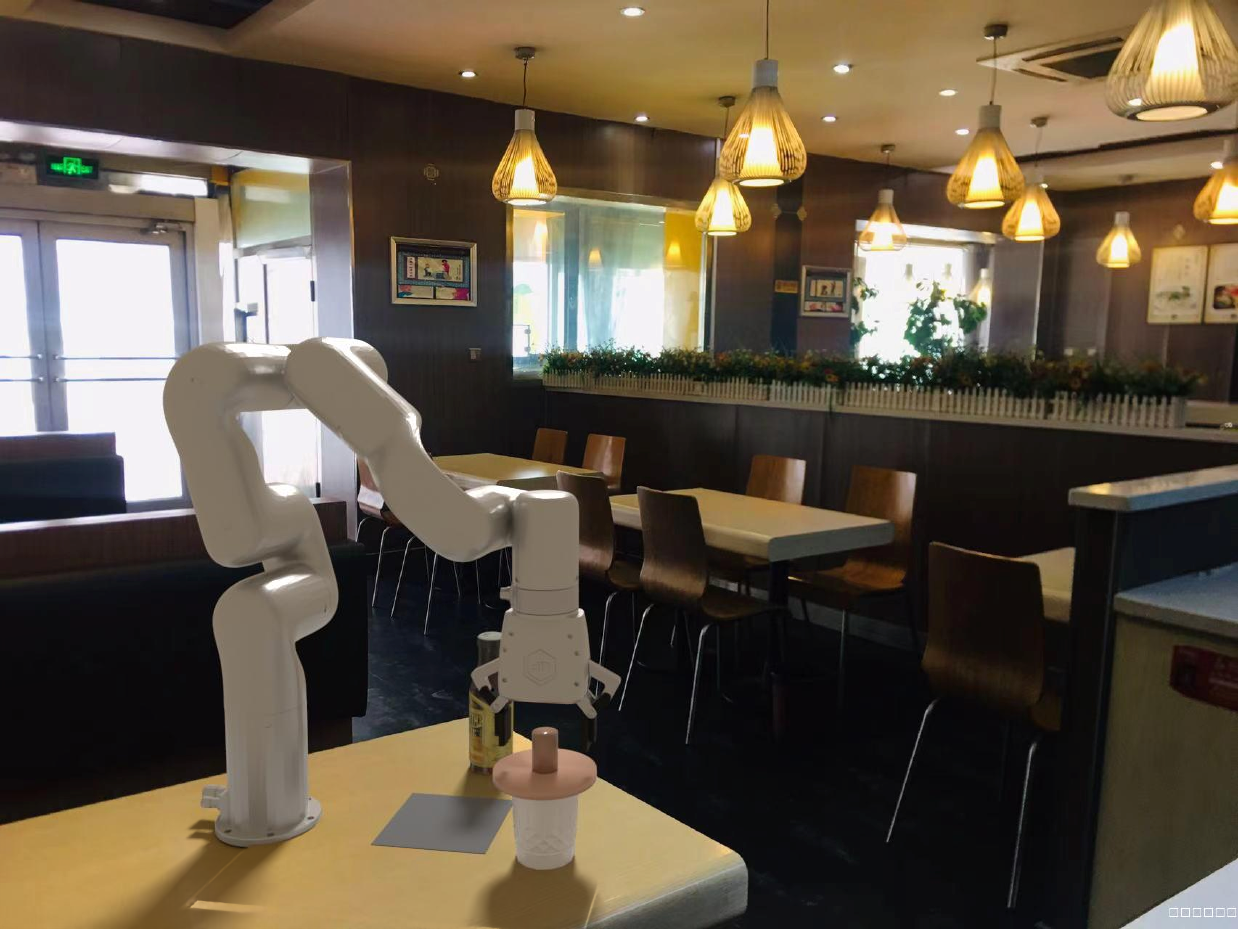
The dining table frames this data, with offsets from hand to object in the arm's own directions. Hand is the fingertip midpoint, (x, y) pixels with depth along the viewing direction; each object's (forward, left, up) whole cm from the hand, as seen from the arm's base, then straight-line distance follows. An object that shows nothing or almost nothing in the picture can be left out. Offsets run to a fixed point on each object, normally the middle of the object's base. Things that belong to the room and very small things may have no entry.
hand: (545, 744), depth 109 cm
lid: (0, 0, -4) cm, 4 cm away
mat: (-14, +6, -14) cm, 21 cm away
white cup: (0, 0, -14) cm, 14 cm away
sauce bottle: (-13, +23, -14) cm, 30 cm away
